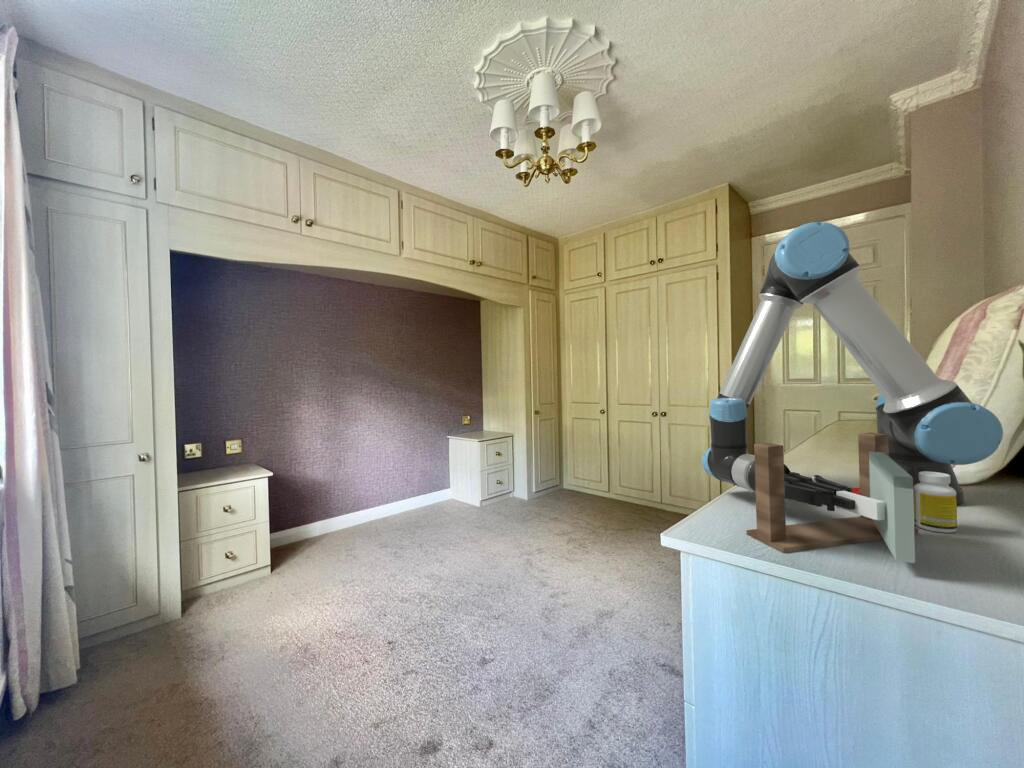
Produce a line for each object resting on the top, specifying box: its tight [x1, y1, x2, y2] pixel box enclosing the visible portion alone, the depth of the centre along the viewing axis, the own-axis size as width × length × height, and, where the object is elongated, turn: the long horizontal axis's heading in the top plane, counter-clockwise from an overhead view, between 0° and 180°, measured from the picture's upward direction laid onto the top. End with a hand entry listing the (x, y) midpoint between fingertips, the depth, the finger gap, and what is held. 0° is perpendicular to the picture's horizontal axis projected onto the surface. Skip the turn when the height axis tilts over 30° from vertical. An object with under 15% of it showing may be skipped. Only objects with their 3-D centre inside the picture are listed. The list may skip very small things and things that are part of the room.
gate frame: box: [745, 432, 920, 553], centre depth 73 cm, size 27×8×17 cm, turn 101°
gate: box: [869, 452, 916, 564], centre depth 66 cm, size 20×2×12 cm, turn 147°
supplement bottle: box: [914, 471, 958, 534], centre depth 74 cm, size 5×5×10 cm
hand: (880, 511), depth 63 cm, fingers closed
